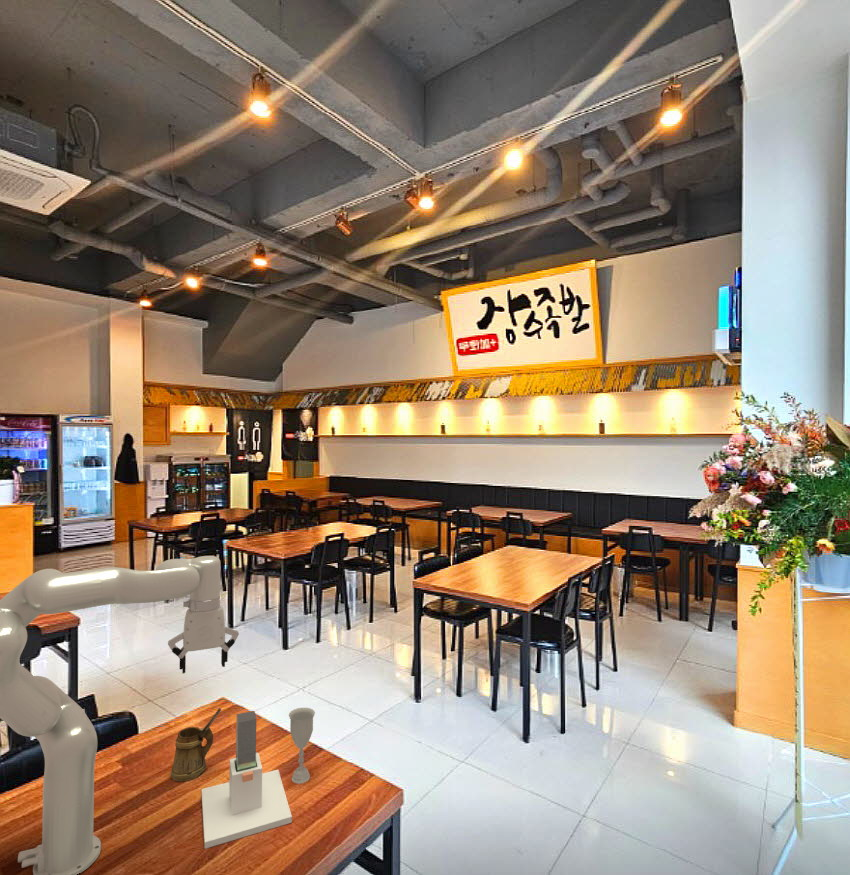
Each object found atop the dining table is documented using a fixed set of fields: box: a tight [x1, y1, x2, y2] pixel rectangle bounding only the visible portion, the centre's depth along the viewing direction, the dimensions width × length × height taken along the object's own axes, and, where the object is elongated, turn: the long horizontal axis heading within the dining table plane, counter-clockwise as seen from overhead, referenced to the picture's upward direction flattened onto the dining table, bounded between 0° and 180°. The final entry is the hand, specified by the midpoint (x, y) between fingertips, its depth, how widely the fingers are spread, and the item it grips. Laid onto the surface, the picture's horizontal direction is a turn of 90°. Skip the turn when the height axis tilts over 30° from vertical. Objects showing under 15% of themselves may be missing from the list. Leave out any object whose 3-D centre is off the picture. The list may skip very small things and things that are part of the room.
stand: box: [201, 752, 293, 849], centre depth 133 cm, size 20×20×12 cm
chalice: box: [288, 707, 316, 785], centre depth 145 cm, size 7×7×18 cm
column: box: [235, 710, 257, 772], centre depth 133 cm, size 4×4×16 cm
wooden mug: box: [170, 707, 222, 783], centre depth 147 cm, size 9×14×18 cm, turn 92°
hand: (203, 668), depth 137 cm, fingers open, 9 cm apart
